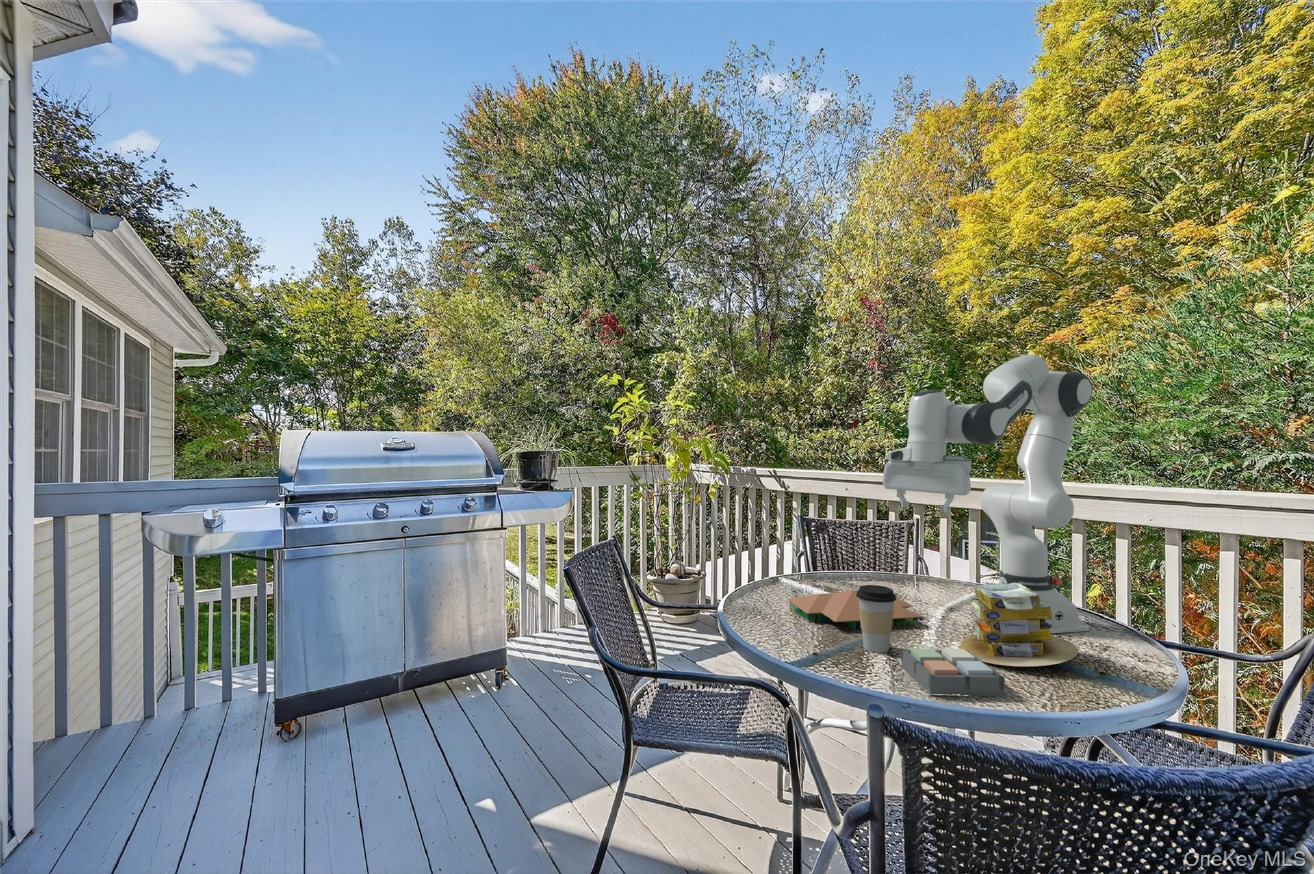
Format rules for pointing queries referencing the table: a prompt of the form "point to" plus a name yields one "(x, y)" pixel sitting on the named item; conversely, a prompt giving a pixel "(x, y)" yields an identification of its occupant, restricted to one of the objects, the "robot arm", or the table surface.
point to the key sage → (926, 654)
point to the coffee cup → (876, 616)
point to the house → (843, 607)
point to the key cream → (957, 655)
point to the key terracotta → (940, 667)
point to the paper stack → (1014, 628)
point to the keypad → (952, 678)
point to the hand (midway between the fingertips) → (924, 510)
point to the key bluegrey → (974, 668)
